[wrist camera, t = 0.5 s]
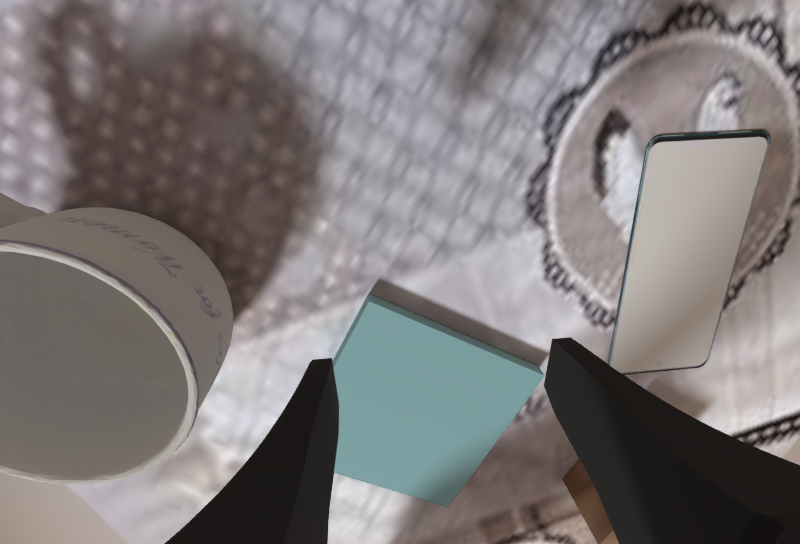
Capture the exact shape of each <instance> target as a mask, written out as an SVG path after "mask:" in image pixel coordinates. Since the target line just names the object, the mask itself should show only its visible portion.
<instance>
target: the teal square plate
mask: <svg viewBox="0 0 800 544" xmlns="http://www.w3.org/2000/svg"><path fill="white" fill-rule="evenodd" d="M333 368H334V375H335V381H336V387H337V394H338V400H339V436H338V444H337V452H336V460H335V468H334V473H337V474H340V475H343V476H347V477H350V478H353V479H357V480H360V481H363V482H367V483H370V484H373V485H377V486H380V487H383V488H387V489H390V490H393V491H397V492H400V493H403V494H406V495H410V496H413V497H416V498H420V499H423V500H426V501H430V502H433V503H436V504H440V505H443V506H446V507H449V506H450V504H451V503H452V502H453V500H454V499H455V497H456V496H457V495H458V493H459V492H460V491H461V489H462V488H463V487H464V485H465V484H466V482H467V481H468V480H469V478H470V477H471V476H472V474H473V473H474V472H475V470H476V469H477V467H478V466H479V465H480V463H481V462H482V461H483V459H484V458H485V457H486V455H487V454H488V452H489V451H490V450H491V448H492V447H493V446H494V444H495V443H496V442H497V440H498V439H499V437H500V436H501V435H502V433H503V432H504V431H505V429H506V428H507V427H508V425H509V424H510V422H511V421H512V420H513V418H514V417H515V416H516V414H517V413H518V412H519V410H520V409H521V407H522V406H523V405H524V403H525V402H526V401H527V399H528V398H529V397H530V395H531V394H532V392H533V391H534V390H535V388H536V387H537V386H538V384H539V383H540V382H541V380H542V379H543V377H544V376H545V375H544V374H543V373H542V371H541V370H540V368H539V367H538V366H536V365H534V364H532V363H529V362H527V361H525V360H522V359H520V358H518V357H515V356H513V355H511V354H508V353H506V352H504V351H501V350H499V349H497V348H494V347H492V346H490V345H487V344H485V343H483V342H480V341H478V340H476V339H473V338H471V337H469V336H466V335H464V334H462V333H459V332H457V331H455V330H452V329H450V328H448V327H445V326H443V325H441V324H438V323H436V322H434V321H431V320H429V319H427V318H424V317H422V316H420V315H417V314H415V313H413V312H410V311H408V310H406V309H403V308H401V307H399V306H396V305H394V304H392V303H389V302H387V301H385V300H382V299H380V298H378V297H375V296H373V295H371V294H368V296H367V298H366V300H365V302H364V303H363V305H362V307H361V309H360V311H359V313H358V315H357V317H356V319H355V320H354V322H353V324H352V326H351V328H350V330H349V332H348V334H347V335H346V337H345V339H344V341H343V343H342V345H341V347H340V349H339V351H338V352H337V354H336V356H335V358H334V360H333Z"/></svg>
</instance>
